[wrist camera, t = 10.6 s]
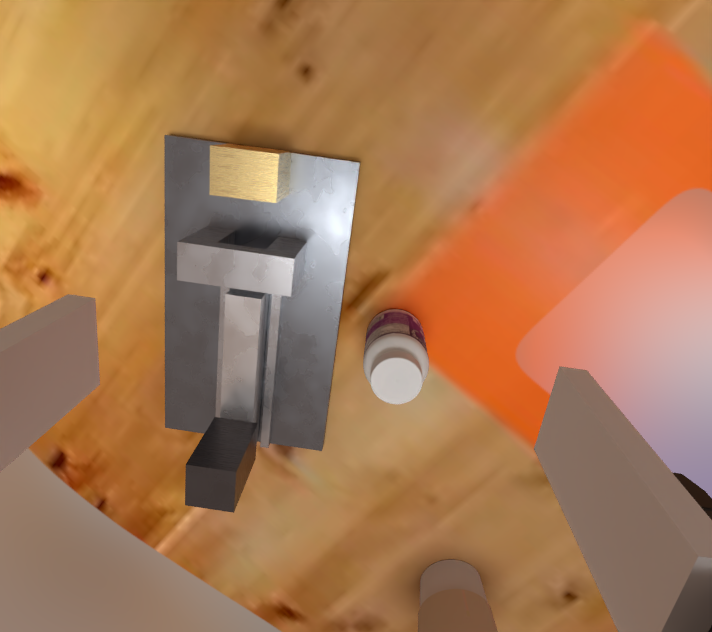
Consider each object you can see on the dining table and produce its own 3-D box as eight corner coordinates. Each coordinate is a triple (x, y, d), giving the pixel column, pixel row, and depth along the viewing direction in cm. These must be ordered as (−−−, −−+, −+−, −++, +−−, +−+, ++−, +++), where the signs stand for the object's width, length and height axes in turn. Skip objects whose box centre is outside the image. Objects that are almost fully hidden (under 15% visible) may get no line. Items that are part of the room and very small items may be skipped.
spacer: (229, 187, 42) (230, 143, 41) (288, 195, 42) (291, 151, 40) (209, 194, 37) (209, 145, 36) (276, 203, 37) (278, 153, 36)
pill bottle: (427, 355, 47) (437, 408, 38) (372, 364, 48) (369, 418, 39) (418, 302, 46) (426, 344, 36) (361, 311, 46) (355, 356, 37)
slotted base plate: (323, 443, 51) (313, 493, 44) (170, 421, 52) (135, 466, 45) (360, 162, 42) (354, 168, 35) (170, 134, 42) (126, 135, 35)
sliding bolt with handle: (262, 440, 50) (233, 512, 41) (223, 435, 50) (185, 505, 41) (274, 289, 44) (244, 331, 35) (230, 282, 44) (188, 323, 35)
